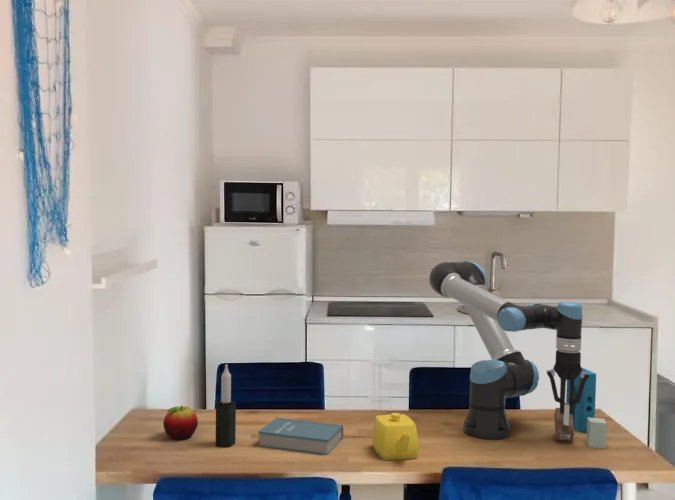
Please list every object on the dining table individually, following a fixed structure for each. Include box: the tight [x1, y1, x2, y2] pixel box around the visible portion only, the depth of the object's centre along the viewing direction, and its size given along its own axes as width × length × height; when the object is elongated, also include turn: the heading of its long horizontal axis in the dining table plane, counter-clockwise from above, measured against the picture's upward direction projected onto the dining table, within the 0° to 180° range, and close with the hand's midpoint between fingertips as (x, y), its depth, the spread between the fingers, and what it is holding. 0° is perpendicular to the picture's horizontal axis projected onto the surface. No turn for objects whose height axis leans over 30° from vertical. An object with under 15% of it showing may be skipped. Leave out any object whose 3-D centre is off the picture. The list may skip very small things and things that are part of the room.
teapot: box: [372, 412, 419, 461], centre depth 197 cm, size 20×12×12 cm, turn 12°
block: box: [565, 366, 597, 433], centre depth 225 cm, size 12×5×20 cm, turn 8°
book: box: [257, 417, 344, 456], centre depth 205 cm, size 23×16×5 cm
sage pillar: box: [585, 417, 608, 449], centre depth 207 cm, size 5×5×8 cm
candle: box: [215, 364, 237, 448], centre depth 201 cm, size 5×5×25 cm
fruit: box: [163, 405, 199, 440], centre depth 208 cm, size 11×11×10 cm
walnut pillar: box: [553, 407, 575, 442], centre depth 212 cm, size 5×5×9 cm
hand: (565, 423), depth 208 cm, fingers closed
